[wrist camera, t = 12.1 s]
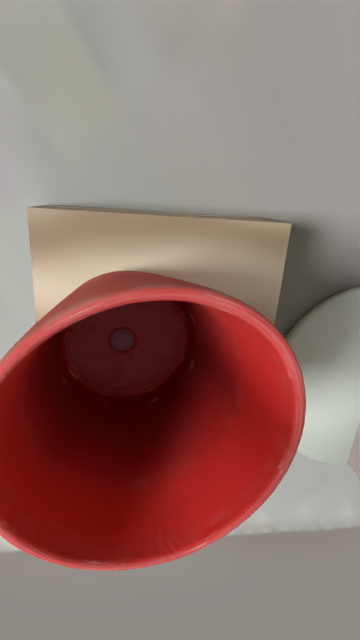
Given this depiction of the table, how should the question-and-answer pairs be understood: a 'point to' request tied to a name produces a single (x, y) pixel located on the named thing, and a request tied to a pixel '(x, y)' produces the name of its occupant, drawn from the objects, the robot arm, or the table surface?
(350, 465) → the robot arm
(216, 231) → the stand
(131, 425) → the flower pot
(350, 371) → the pale grey round plate
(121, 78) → the table surface
